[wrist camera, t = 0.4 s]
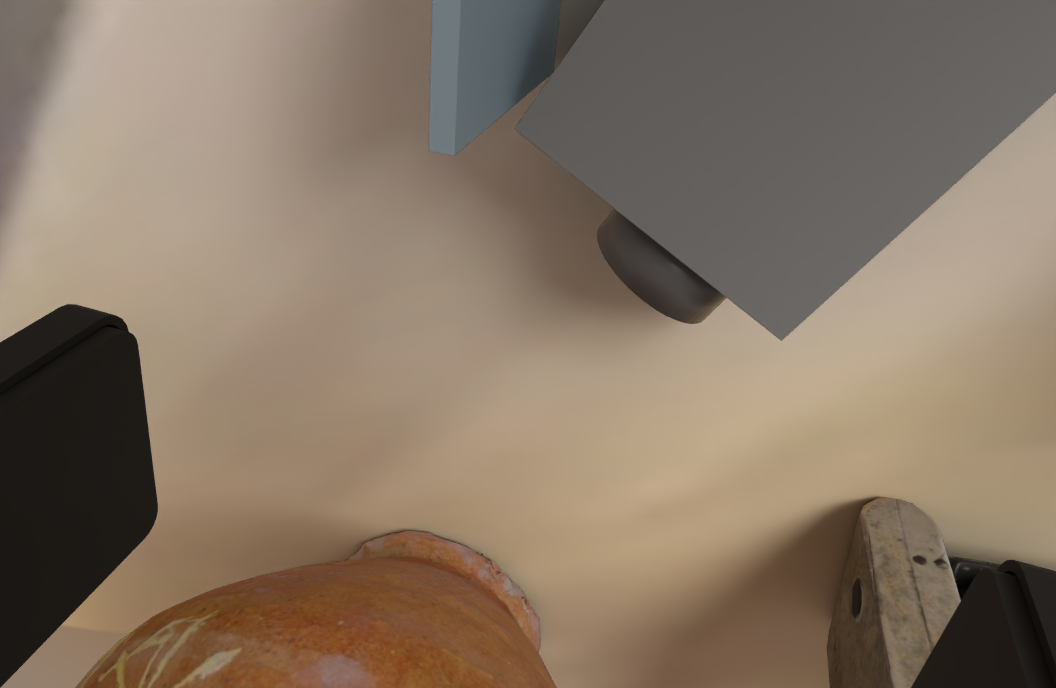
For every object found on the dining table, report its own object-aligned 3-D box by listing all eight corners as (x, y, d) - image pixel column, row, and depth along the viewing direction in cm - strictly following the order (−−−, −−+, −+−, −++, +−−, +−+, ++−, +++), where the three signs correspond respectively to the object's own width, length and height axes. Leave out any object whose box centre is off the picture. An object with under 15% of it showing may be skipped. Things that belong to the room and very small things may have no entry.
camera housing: (850, -322, 27) (872, -389, 20) (1121, -78, 28) (1228, -64, 21) (532, 124, 37) (475, 179, 30) (743, 292, 38) (735, 382, 31)
